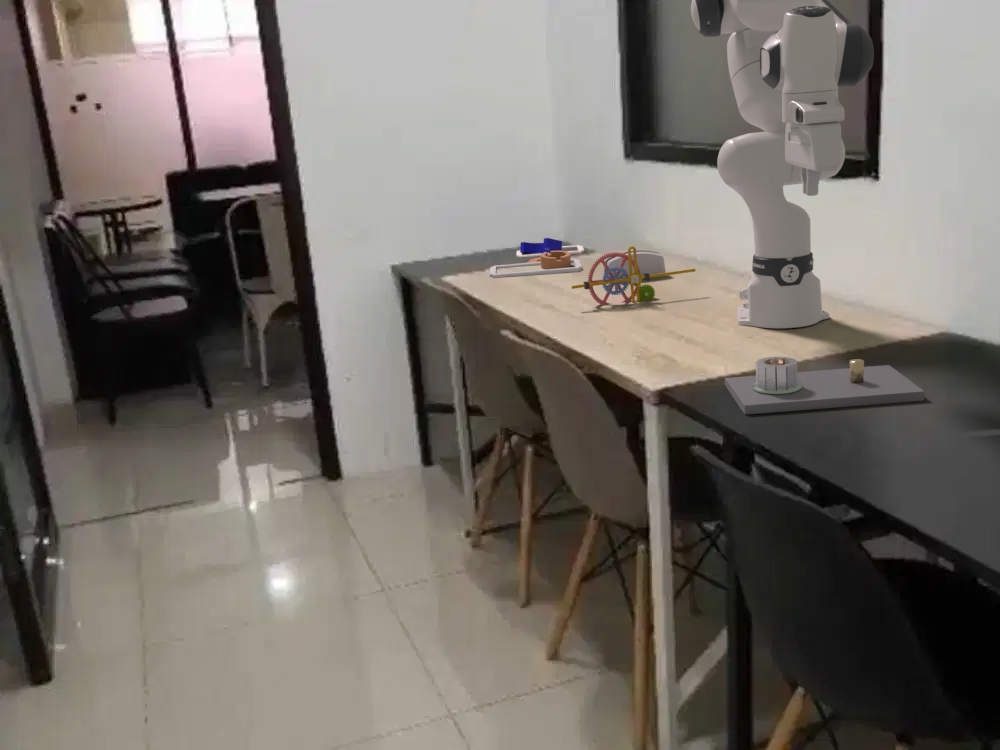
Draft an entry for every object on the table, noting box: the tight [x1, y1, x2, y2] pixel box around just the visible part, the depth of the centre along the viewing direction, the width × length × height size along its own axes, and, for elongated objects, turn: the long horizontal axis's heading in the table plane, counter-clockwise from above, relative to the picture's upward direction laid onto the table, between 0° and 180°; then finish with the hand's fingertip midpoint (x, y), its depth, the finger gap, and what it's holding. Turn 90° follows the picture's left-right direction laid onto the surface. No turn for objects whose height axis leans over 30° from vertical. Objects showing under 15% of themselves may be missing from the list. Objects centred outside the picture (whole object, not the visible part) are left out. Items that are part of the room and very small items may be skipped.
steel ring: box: [755, 356, 799, 391], centre depth 172 cm, size 6×6×4 cm
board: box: [724, 364, 925, 415], centre depth 172 cm, size 16×28×2 cm, turn 89°
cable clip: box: [519, 237, 563, 254], centre depth 315 cm, size 12×4×6 cm
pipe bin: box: [489, 258, 583, 279], centre depth 292 cm, size 15×25×4 cm, turn 89°
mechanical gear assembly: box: [571, 246, 696, 306], centre depth 244 cm, size 30×4×15 cm, turn 102°
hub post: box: [752, 363, 802, 395], centre depth 172 cm, size 8×8×4 cm
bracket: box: [528, 250, 572, 270], centre depth 298 cm, size 18×8×7 cm, turn 20°
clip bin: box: [516, 244, 585, 259], centre depth 318 cm, size 12×20×4 cm, turn 89°
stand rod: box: [849, 358, 865, 383], centre depth 171 cm, size 2×2×4 cm
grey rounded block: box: [602, 249, 667, 279], centre depth 271 cm, size 17×5×10 cm, turn 100°
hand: (810, 194), depth 176 cm, fingers closed
